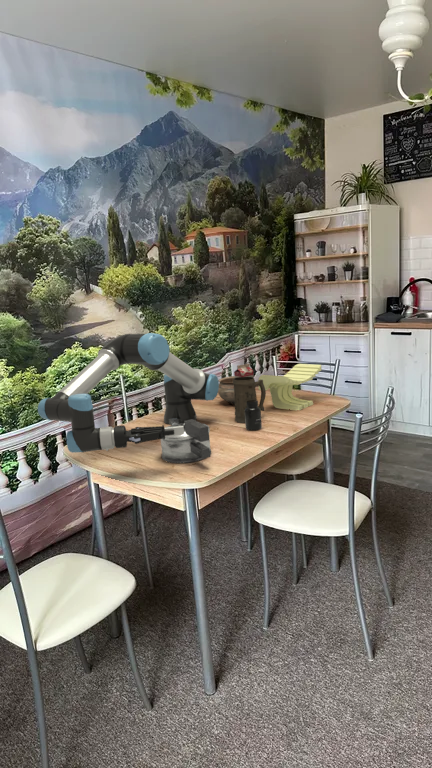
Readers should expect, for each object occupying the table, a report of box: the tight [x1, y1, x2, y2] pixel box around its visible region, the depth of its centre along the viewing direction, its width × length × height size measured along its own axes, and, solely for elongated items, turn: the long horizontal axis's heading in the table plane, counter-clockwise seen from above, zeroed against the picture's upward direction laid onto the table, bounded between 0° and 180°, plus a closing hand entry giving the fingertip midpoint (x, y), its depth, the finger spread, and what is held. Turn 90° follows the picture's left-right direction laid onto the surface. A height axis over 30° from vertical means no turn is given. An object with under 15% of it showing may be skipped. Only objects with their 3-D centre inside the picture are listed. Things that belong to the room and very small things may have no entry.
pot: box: [160, 437, 212, 464], centre depth 197 cm, size 31×18×8 cm, turn 26°
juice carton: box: [233, 363, 255, 379], centre depth 259 cm, size 7×7×22 cm
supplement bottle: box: [244, 399, 262, 432], centre depth 226 cm, size 7×7×12 cm
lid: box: [163, 418, 211, 442], centre depth 196 cm, size 30×19×6 cm, turn 27°
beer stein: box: [233, 377, 267, 424], centre depth 241 cm, size 15×10×20 cm
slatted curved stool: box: [257, 363, 322, 411], centre depth 259 cm, size 30×16×18 cm, turn 138°
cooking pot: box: [217, 375, 235, 405], centre depth 276 cm, size 25×19×12 cm
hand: (183, 430), depth 185 cm, fingers closed
